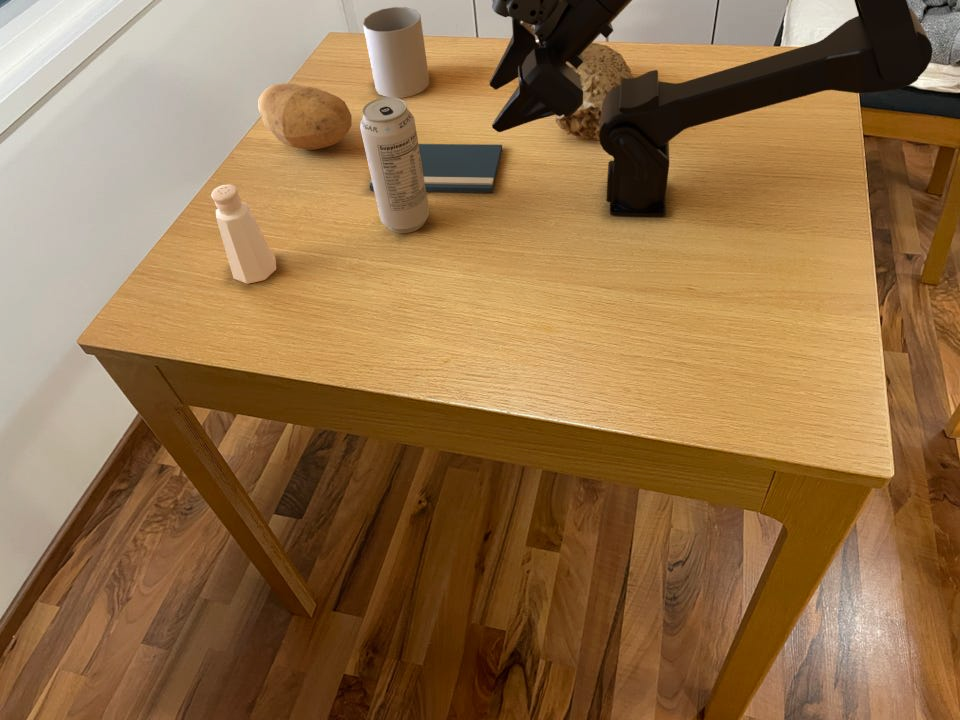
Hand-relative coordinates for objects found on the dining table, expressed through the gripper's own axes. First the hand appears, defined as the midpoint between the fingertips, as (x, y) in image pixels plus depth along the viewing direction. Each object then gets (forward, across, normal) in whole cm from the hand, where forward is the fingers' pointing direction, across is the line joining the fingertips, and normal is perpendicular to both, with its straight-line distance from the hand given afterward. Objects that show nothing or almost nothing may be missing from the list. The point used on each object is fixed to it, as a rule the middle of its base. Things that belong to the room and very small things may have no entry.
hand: (493, 107), depth 82 cm
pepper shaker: (+30, +8, -11) cm, 33 cm away
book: (+15, -10, +4) cm, 19 cm away
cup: (+20, -34, 0) cm, 39 cm away
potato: (+28, -19, -8) cm, 35 cm away
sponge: (0, -22, +19) cm, 29 cm away
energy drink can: (+18, +1, +1) cm, 18 cm away
